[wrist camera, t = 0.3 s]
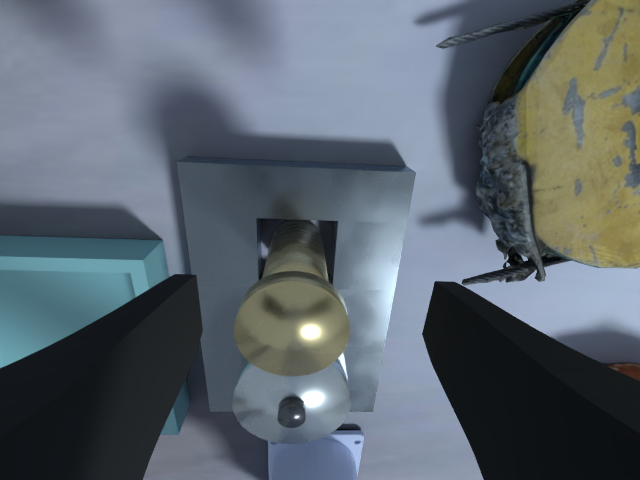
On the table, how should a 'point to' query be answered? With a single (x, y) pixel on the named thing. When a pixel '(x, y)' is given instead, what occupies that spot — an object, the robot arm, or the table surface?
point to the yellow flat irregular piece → (564, 141)
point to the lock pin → (293, 307)
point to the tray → (73, 292)
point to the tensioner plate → (246, 269)
